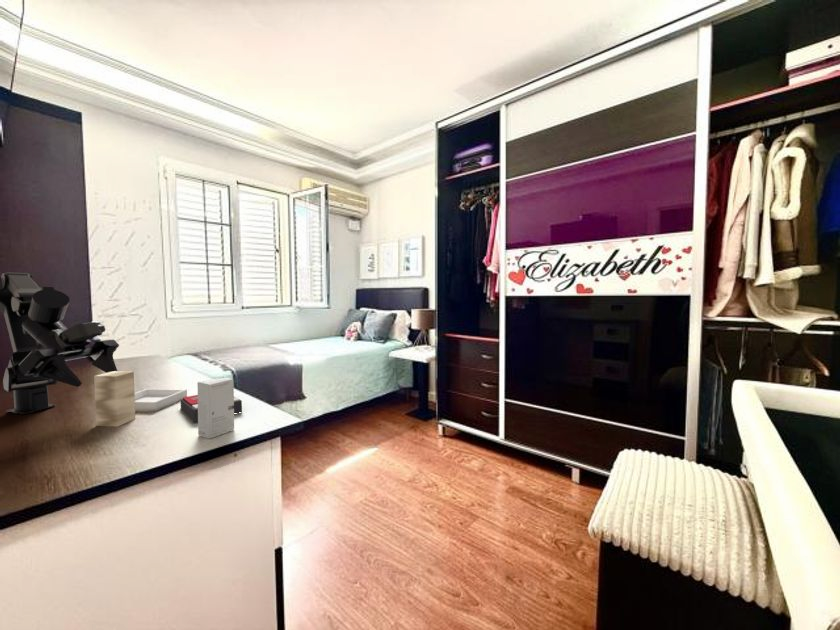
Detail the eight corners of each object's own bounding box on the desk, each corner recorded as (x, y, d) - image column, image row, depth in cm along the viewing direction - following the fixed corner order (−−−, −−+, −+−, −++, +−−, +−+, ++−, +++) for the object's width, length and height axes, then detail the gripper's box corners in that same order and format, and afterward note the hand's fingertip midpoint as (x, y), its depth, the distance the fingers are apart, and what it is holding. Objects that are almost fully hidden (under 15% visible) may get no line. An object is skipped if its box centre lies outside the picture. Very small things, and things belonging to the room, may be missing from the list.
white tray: (109, 410, 90) (109, 401, 90) (146, 396, 102) (146, 388, 102) (155, 411, 90) (154, 402, 89) (187, 397, 102) (186, 389, 102)
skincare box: (210, 439, 73) (208, 384, 73) (196, 435, 75) (195, 382, 74) (235, 429, 79) (235, 378, 78) (223, 426, 81) (222, 376, 80)
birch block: (96, 426, 80) (94, 375, 79) (115, 418, 85) (113, 371, 84) (117, 426, 80) (115, 376, 79) (135, 418, 85) (133, 371, 84)
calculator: (224, 389, 100) (242, 397, 90) (225, 403, 100) (242, 413, 90) (179, 396, 92) (193, 407, 82) (180, 412, 92) (194, 424, 82)
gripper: (28, 312, 71) (82, 365, 72) (110, 309, 90) (153, 350, 90) (-6, 349, 72) (47, 401, 72) (83, 338, 90) (125, 379, 91)
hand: (99, 380), depth 81 cm, fingers open, 9 cm apart
